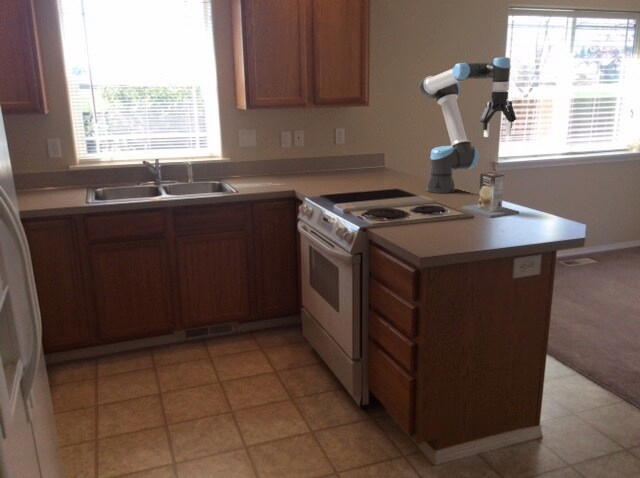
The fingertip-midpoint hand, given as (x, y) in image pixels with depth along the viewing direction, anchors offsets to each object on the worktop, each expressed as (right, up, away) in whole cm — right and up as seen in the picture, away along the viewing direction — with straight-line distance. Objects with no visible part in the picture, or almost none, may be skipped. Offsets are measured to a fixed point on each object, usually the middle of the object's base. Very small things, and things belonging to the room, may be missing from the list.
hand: (497, 136), depth 275 cm
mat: (-9, -38, -19) cm, 43 cm away
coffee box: (-9, -37, -19) cm, 43 cm away
